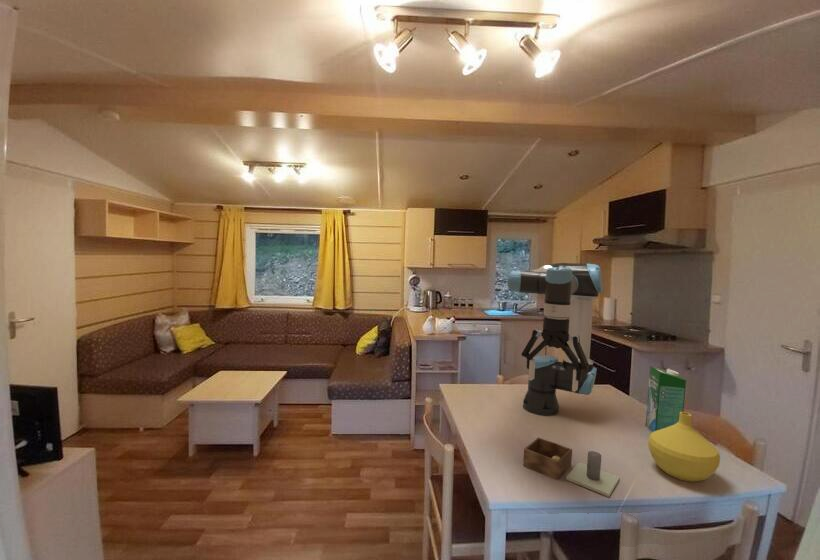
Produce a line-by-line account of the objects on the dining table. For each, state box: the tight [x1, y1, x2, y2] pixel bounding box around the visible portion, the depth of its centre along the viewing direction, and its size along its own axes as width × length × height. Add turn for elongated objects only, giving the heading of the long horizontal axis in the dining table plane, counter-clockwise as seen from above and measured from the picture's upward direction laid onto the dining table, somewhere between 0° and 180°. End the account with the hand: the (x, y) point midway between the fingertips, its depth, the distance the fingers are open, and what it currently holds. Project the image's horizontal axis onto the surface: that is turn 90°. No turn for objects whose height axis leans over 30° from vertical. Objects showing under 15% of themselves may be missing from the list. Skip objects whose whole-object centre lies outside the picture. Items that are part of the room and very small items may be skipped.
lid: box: [565, 450, 620, 498], centre depth 113 cm, size 12×12×9 cm
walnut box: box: [522, 437, 573, 481], centre depth 120 cm, size 11×11×6 cm
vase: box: [648, 411, 721, 483], centre depth 120 cm, size 18×18×19 cm
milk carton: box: [645, 365, 687, 433], centre depth 148 cm, size 9×9×25 cm
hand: (552, 384), depth 119 cm, fingers open, 13 cm apart
